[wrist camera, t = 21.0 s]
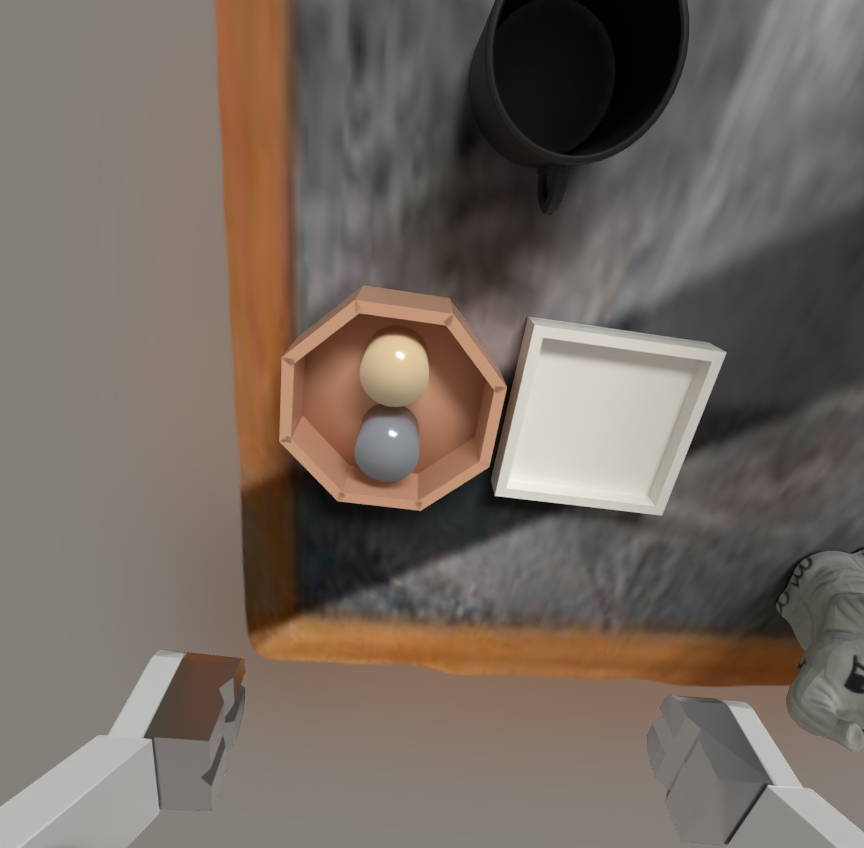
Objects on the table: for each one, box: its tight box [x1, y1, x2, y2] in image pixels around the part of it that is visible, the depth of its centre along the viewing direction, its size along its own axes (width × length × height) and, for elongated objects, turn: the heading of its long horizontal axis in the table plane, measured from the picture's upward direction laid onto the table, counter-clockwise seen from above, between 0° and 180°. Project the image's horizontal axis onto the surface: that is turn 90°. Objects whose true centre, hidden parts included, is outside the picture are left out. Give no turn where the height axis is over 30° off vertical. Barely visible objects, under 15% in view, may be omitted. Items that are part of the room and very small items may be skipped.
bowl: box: [279, 285, 507, 511], centre depth 38 cm, size 15×15×5 cm
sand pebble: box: [360, 326, 429, 407], centre depth 37 cm, size 5×5×4 cm
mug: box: [470, 0, 689, 215], centre depth 29 cm, size 9×12×9 cm
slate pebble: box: [355, 404, 419, 482], centre depth 39 cm, size 5×5×4 cm
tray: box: [491, 316, 727, 516], centre depth 41 cm, size 14×14×2 cm
